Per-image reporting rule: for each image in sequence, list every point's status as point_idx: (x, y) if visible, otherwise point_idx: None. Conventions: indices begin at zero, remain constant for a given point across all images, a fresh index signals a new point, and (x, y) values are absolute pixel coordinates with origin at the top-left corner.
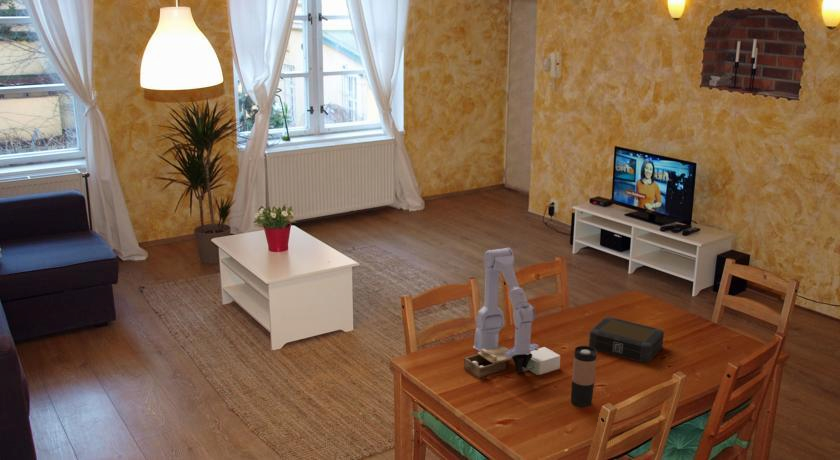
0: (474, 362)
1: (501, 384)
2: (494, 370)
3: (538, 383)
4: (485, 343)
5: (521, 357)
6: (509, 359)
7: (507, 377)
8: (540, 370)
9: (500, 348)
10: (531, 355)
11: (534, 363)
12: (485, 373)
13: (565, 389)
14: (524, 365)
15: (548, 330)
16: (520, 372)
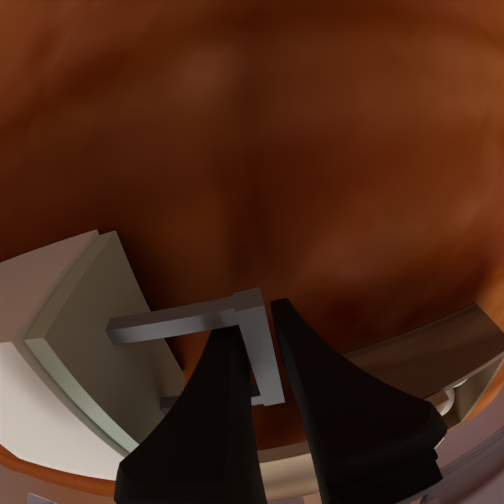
0: (450, 406)
1: (445, 219)
2: (416, 357)
3: (148, 121)
4: (298, 501)
5: (374, 467)
6: (305, 442)
7: (352, 300)
8: (59, 265)
9: (278, 496)
10: (135, 496)
11: (96, 361)
12: (467, 331)
13: (12, 4)
14: (235, 364)
15: (42, 466)
16: (278, 302)
